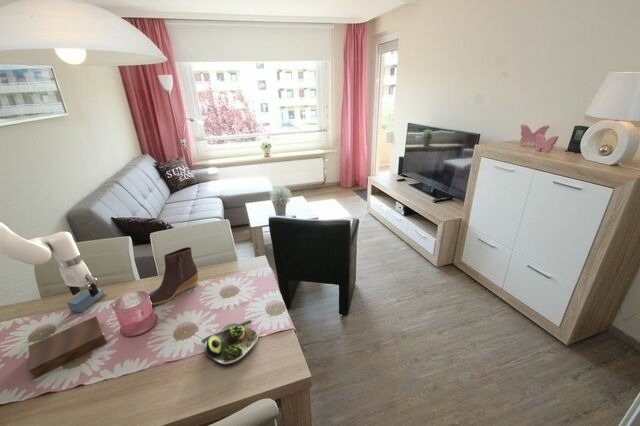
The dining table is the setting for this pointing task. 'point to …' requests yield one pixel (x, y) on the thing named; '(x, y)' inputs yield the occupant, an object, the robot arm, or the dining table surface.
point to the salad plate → (230, 343)
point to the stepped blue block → (84, 301)
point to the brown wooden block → (65, 346)
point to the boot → (176, 276)
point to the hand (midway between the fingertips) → (86, 294)
